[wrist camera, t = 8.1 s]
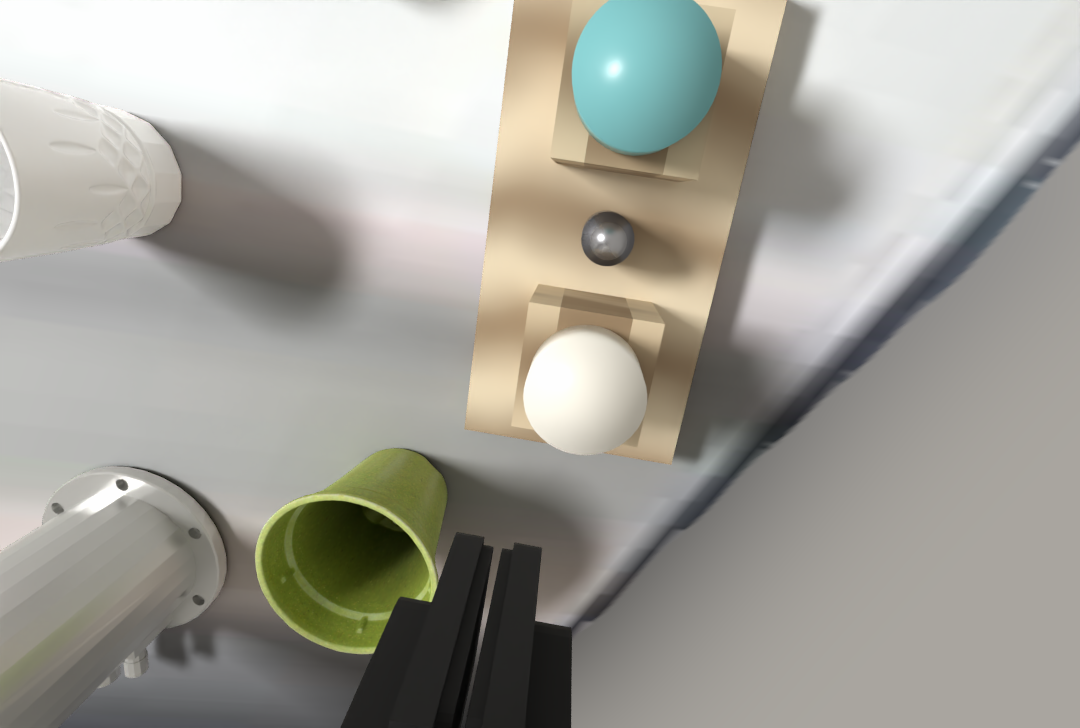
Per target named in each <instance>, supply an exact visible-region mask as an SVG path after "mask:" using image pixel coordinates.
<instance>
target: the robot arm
mask: <svg viewBox="0 0 1080 728" xmlns="http://www.w3.org/2000/svg"><path fill="white" fill-rule="evenodd" d="M483 544H484V537H480V536H475V535H469V534H464V533H458V532H457V533H456V535H455V538H454V540H453V543H452V546H451V549H450V552H449V554H448V557H447V560H446V563H445V566H444V568H443V571H442V574H441V577H440V580H439V582H438V585H437V588H436V591H435V594H434V596H433V599H432V602H428V601H423V600H418V599H412V598H407V597H400V598H399V599H398V600H397V602H396V604H395V606H394V608H393V611H392V613H391V615H390V617H389V620H388V622H387V624H386V626H385V629H384V631H383V633H382V635H381V638H380V640H379V642H378V644H377V647H376V649H375V651H374V653H373V656H372V658H371V660H370V662H369V665H368V667H367V669H366V671H365V674H364V676H363V678H362V680H361V683H360V685H359V687H358V689H357V692H356V694H355V696H354V698H353V701H352V703H351V705H350V707H349V710H348V712H347V714H346V716H345V719H344V721H343V723H342V725H341V728H461V723H462V718H463V714H464V709H465V704H466V700H467V695H468V691H469V686H470V681H471V677H472V672H473V667H474V662H475V656H476V650H477V644H478V638H479V632H480V626H481V620H482V614H483V608H484V602H485V596H486V590H487V584H488V578H489V572H490V566H491V560H492V554H493V547H492V546H486V545H483ZM541 552H542V548H541V547H535V546H530V545H524V544H519V543H514V548H513V550H508V549H503V548H502V552H501V557H500V561H499V566H498V571H497V576H496V581H495V585H494V590H493V595H492V600H491V605H490V609H489V614H488V619H487V624H486V628H485V633H484V638H483V643H482V648H481V652H480V657H479V662H478V667H477V671H476V676H475V681H474V686H473V691H472V695H471V700H470V705H469V710H468V715H467V720H466V725H465V728H571V665H572V664H571V663H572V662H571V661H572V659H571V658H572V632H571V628H570V627H565V626H559V625H554V624H548V623H543V622H537V621H535V614H536V604H537V594H538V583H539V573H540V562H541ZM226 571H227V565H226V553H225V549H224V545H223V541H222V539H221V537H220V534H219V532H218V530H217V528H216V526H215V524H214V523H213V521H212V520H211V518H210V517H209V516H208V514H207V513H206V511H205V510H204V509H203V508H202V507H201V506H200V505H199V504H198V503H197V502H196V501H195V500H194V498H192V497H191V496H190V495H189V494H187V493H186V492H185V491H183V490H182V489H181V488H180V487H178V486H176V485H175V484H173V483H171V482H169V481H168V480H166V479H164V478H162V477H160V476H157V475H155V474H152V473H150V472H147V471H144V470H140V469H135V468H131V467H119V466H108V467H101V468H95V469H92V470H90V471H87V472H84V473H82V474H80V475H78V476H76V477H75V478H73V479H71V480H69V481H68V482H66V483H64V484H63V485H62V486H61V487H60V488H59V489H57V490H56V491H55V492H54V493H53V495H52V496H51V498H50V499H49V501H48V502H47V505H46V508H45V511H44V514H43V518H42V525H41V526H40V527H38V528H36V529H35V530H33V531H32V532H30V533H28V534H27V535H25V536H23V537H22V538H20V539H18V540H17V541H15V542H14V543H12V544H10V545H9V546H7V547H5V548H4V549H2V550H0V728H58V727H59V726H60V725H61V724H62V723H63V722H64V721H65V720H66V719H67V718H68V717H69V716H70V715H71V714H72V713H73V712H74V711H75V710H76V709H77V708H78V707H79V706H80V705H81V704H82V703H83V702H84V701H85V700H86V699H87V698H88V697H89V696H90V695H91V694H92V693H93V692H94V691H95V690H96V689H97V688H101V687H104V686H107V685H109V684H111V683H112V682H114V681H115V680H116V679H117V678H118V677H119V675H120V674H121V669H120V664H121V663H122V662H123V661H124V670H125V676H126V677H128V678H136V677H139V676H141V675H143V674H144V673H145V672H146V671H147V670H148V668H149V664H148V654H147V650H146V647H147V646H148V645H149V644H150V643H151V642H152V641H153V640H154V639H155V638H156V637H157V636H158V635H159V633H160V632H161V631H162V630H163V629H164V628H173V627H176V626H179V625H183V624H186V623H188V622H190V621H191V620H193V619H195V618H197V617H198V616H199V615H200V614H202V613H203V612H204V611H205V610H206V609H207V608H208V607H209V606H210V604H211V603H212V602H213V601H214V600H215V598H216V597H217V596H218V595H219V593H220V591H221V589H222V587H223V584H224V581H225V576H226Z"/></svg>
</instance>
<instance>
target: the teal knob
mask: <svg viewBox="0 0 1080 728" xmlns="http://www.w3.org/2000/svg"><path fill="white" fill-rule="evenodd" d="M721 72H722V54H721V47H720V42H719V38H718V35H717V32H716V29H715V27H714V25H713V23H712V21H711V20H710V18H709V17H708V15H707V14H706V12H705V11H704V10H703V9H702V8H701V7H700V6H699V5H698V4H697V3H696V2H695V1H694V0H609V1H608V2H606V3H605V4H604V5H603V6H602V7H601V8H599V9H598V10H597V11H596V12H595V14H594V15H593V16H592V17H591V19H590V20H589V21H588V23H587V24H586V26H585V28H584V29H583V31H582V33H581V35H580V38H579V40H578V43H577V46H576V49H575V52H574V57H573V63H572V86H573V93H574V100H575V106H576V109H577V113H578V115H579V118H580V120H581V122H582V124H583V125H584V127H585V129H586V130H587V131H588V133H589V134H590V135H591V136H592V137H593V138H594V139H595V140H596V141H597V142H598V143H600V144H601V145H602V146H604V147H605V148H607V149H609V150H611V151H614V152H616V153H619V154H624V155H632V156H639V155H647V154H652V153H655V152H658V151H660V150H662V149H664V148H666V147H668V146H670V145H672V144H674V143H676V142H677V141H679V140H680V139H682V138H683V137H685V136H686V135H688V134H689V133H690V132H691V131H692V130H693V129H694V128H695V127H696V126H697V125H698V124H699V123H700V122H701V121H702V119H703V118H704V117H705V115H706V114H707V112H708V111H709V109H710V107H711V105H712V104H713V101H714V99H715V96H716V94H717V91H718V87H719V84H720V78H721Z"/></svg>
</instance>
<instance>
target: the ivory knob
mask: <svg viewBox="0 0 1080 728" xmlns="http://www.w3.org/2000/svg"><path fill="white" fill-rule="evenodd" d="M523 400H524V408H525V412H526V415H527V418H528V420H529V422H530V424H531V426H532V427H533V429H534V430H535V432H536V433H537V434H538V435H539V436H540V437H541V438H542V439H543V440H544V441H546V442H547V443H548V444H550V445H551V446H553V447H555V448H557V449H559V450H561V451H564V452H567V453H571V454H577V455H595V454H600V453H604V452H607V451H610V450H613V449H614V448H616V447H618V446H620V445H621V444H623V443H624V442H626V441H627V440H628V439H629V438H630V437H631V436H632V435H633V434H634V433H635V432H636V430H637V429H638V427H639V426H640V424H641V422H642V420H643V418H644V415H645V411H646V406H647V389H646V384H645V381H644V377H643V374H642V371H641V368H640V364H639V361H638V359H637V356H636V354H635V353H634V351H633V349H632V348H631V347H630V345H629V344H628V343H627V342H626V341H625V340H624V339H623V338H622V337H620V336H619V335H617V334H616V333H614V332H612V331H610V330H608V329H605V328H603V327H599V326H594V325H577V326H571V327H568V328H565V329H562V330H560V331H558V332H556V333H555V334H553V335H552V336H550V337H549V338H548V339H547V340H546V341H545V342H544V343H543V344H542V345H541V346H540V347H539V349H538V350H537V352H536V354H535V356H534V358H533V360H532V363H531V366H530V369H529V372H528V375H527V379H526V382H525V386H524V393H523Z"/></svg>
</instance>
